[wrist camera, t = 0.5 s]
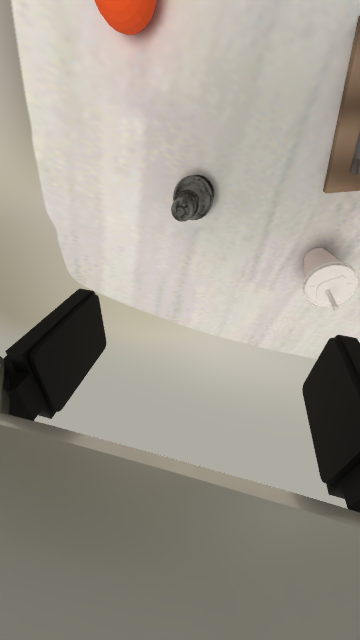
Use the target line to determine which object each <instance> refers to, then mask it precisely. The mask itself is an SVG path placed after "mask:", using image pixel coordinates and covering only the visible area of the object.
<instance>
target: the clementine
mask: <svg viewBox="0 0 360 640" xmlns="http://www.w3.org/2000/svg"><path fill="white" fill-rule="evenodd" d="M95 2H96V5H97V7H98V9H99V11H100V13H101V14H102V16H103V17H104V18H105V20H106V21H107V22H108V24H109V25H110V26H111V27H113V28H114V29H115V30H116V31H118V32H121V33H123V34H126V35H134V34H136V33H139V32H141V31H142V30H143V29H144V28H145V27H146V26H147V25H148V23H149V21H150V20H151V18H152V16H153V13H154V10H155V7H156V2H157V0H95Z"/></svg>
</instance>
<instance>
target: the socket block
mask: <svg viewBox="0 0 360 640" xmlns="http://www.w3.org/2000/svg"><path fill="white" fill-rule="evenodd" d="M359 190H360V16H359V19H358V24H357V28H356V33H355V38H354V43H353V48H352V53H351V58H350V63H349V68H348V72H347V77H346V82H345V87H344V92H343V97H342V102H341V107H340V112H339V116H338V121H337V126H336V131H335V136H334V141H333V146H332V151H331V156H330V160H329V165H328V170H327V175H326V180H325V185H324V190H323V191H324V192H325V193H334V192H346V191H359Z"/></svg>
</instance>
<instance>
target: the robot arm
mask: <svg viewBox="0 0 360 640" xmlns="http://www.w3.org/2000/svg"><path fill="white" fill-rule="evenodd" d="M105 347H106V337H105V331H104V326H103V320H102V314H101V308H100V302H99V298H98V296H97V295H95V292H94V291H90V290H85V289H79V290H77V291H76V292H75V293H74V294H72V295H71V296H70V297H69V298H68V299H66V300H65V301H64V302H63V303H62V304H61V305H59V306H58V307H57V308H56V309H55V310H54V311H52V312H51V313H50V314H49V315H48V316H46V317H45V318H44V319H43V320H42V321H41V322H40V323H38V324H37V325H36V326H35V327H34V328H32V329H31V330H30V331H29V332H28V333H27V334H25V336H23V337H22V338H21V339H20V340H18V341H17V342H16V343H15V344H13V345H12V346H11V347H10V348H9V349H8V350H6V353H7V356H6V357H5V358H4V359H3V358H2V357H1V356H0V640H360V343H359V341H358V340H357V339H356V338H353V337H348V336H342V335H337V336H336V337H335V338H330V339H329V340H328V342H327V344H326V346H325V347H324V349H323V351H322V353H321V354H320V356H319V358H318V360H317V361H316V363H315V365H314V367H313V368H312V370H311V372H310V374H309V376H308V377H307V379H306V381H305V383H304V385H303V396H304V401H305V406H306V410H307V415H308V420H309V425H310V429H311V434H312V439H313V444H314V448H315V453H316V458H317V462H318V467H319V472H320V476H321V479H322V481H323V482H324V483H326V484H327V488H328V493H329V495H333V496H336V497H340V498H343V499H345V501H346V504H347V508H348V509H346V508H342V507H339V506H336V505H333V504H329V503H326V502H323V501H319V500H316V499H313V498H309V497H306V496H303V495H299V494H296V493H292V492H289V491H285V490H282V489H278V488H275V487H271V486H268V485H264V484H260V483H256V482H253V481H250V480H246V479H242V478H239V477H235V476H232V475H228V474H225V473H221V472H218V471H214V470H211V469H207V468H204V467H200V466H196V465H193V464H189V463H186V462H182V461H178V460H175V459H171V458H168V457H164V456H161V455H157V454H153V453H150V452H146V451H143V450H139V449H135V448H132V447H128V446H124V445H121V444H117V443H113V442H110V441H106V440H103V439H98V438H95V437H91V436H88V435H84V434H80V433H76V432H73V431H69V430H66V429H62V428H58V427H55V426H51V425H47V424H43V423H39V422H35V421H34V419H35V418H36V417H37V415H38V414H39V416H43V417H47V418H50V419H52V417H53V416H54V414H55V413H56V412H58V411H60V410H62V408H63V407H64V406H65V404H66V403H67V401H68V400H69V399H70V397H71V396H72V394H73V393H74V391H75V390H76V389H77V387H78V386H79V384H80V383H81V382H82V380H83V379H84V377H85V376H86V374H87V373H88V372H89V370H90V369H91V367H92V366H93V365H94V363H95V362H96V360H97V359H98V358H99V356H100V355H101V353H102V352H103V350H104V349H105Z"/></svg>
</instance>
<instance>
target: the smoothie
mask: <svg viewBox="0 0 360 640" xmlns="http://www.w3.org/2000/svg"><path fill="white" fill-rule="evenodd" d="M304 275H305V280H304V284H303V291H304V294H305V296H306V298H307V299H308V300H309V301H310V302H311V303H313V304H314V305H317V306H321V307H331V306H332V307H333V309H334V310H337V309H338V306H337V305H339V304H341V303H343V302H345V301H347V300H348V299H350V298H351V297H352V296H353V295H354V293H355V292H356V290H357V288H358V284H359V279H358V276H357V274H356V272H355V270H354V269H353V268H352V267H351V266H350V265H348V264H346V263H342V262H340V261H339V260H338V259H337V258H335V257H334V256H333V255H331V254H330V253H329V252H328V251H326V250H325V249H323V248H314V249H312V250H310V251H309V252H307V253H306V255H305V257H304Z"/></svg>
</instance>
